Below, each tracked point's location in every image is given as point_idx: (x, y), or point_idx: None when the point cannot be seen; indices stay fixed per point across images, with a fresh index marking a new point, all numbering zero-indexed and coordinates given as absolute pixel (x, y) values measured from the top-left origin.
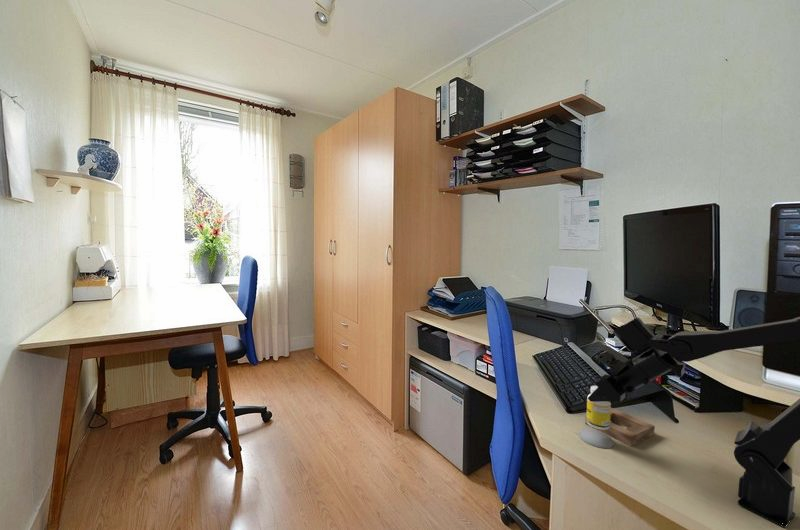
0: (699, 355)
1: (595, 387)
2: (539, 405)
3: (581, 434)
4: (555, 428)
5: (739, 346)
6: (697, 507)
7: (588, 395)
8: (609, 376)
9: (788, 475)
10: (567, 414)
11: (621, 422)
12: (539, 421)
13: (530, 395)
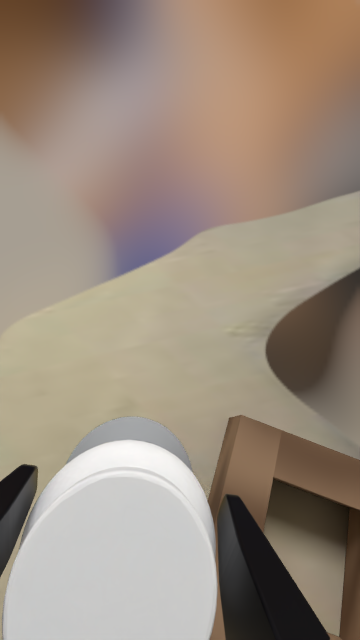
0: None
1: (130, 527)
2: (242, 257)
3: (113, 429)
4: (108, 337)
5: None
6: None
7: (109, 450)
8: None
9: None
10: (253, 345)
11: (353, 551)
12: (122, 283)
13: (290, 220)
